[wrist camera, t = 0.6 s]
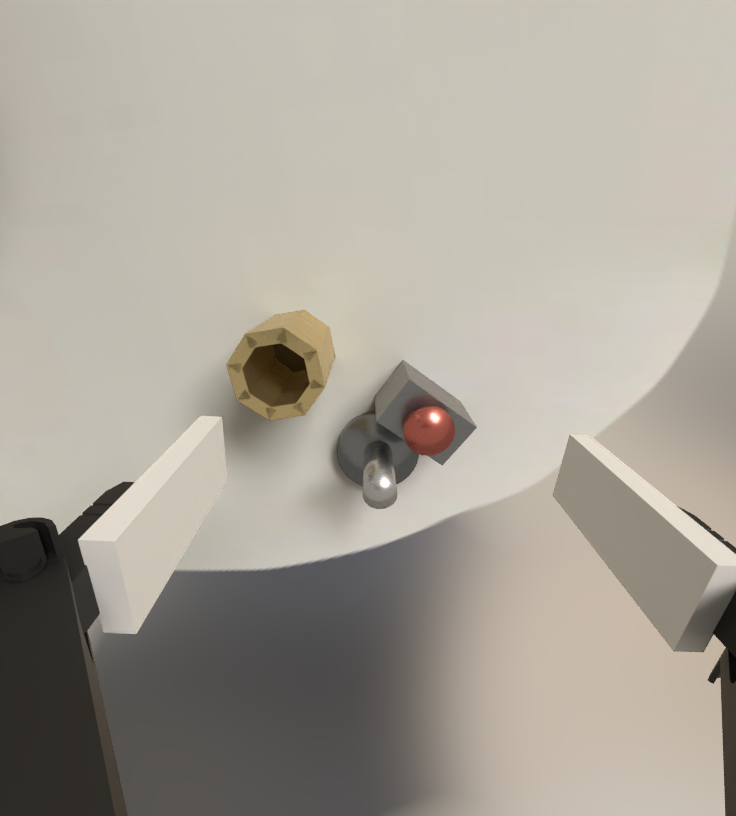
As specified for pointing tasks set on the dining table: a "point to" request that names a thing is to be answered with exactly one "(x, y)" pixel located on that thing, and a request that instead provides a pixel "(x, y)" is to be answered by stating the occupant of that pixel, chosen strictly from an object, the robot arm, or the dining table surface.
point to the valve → (401, 434)
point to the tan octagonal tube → (270, 380)
